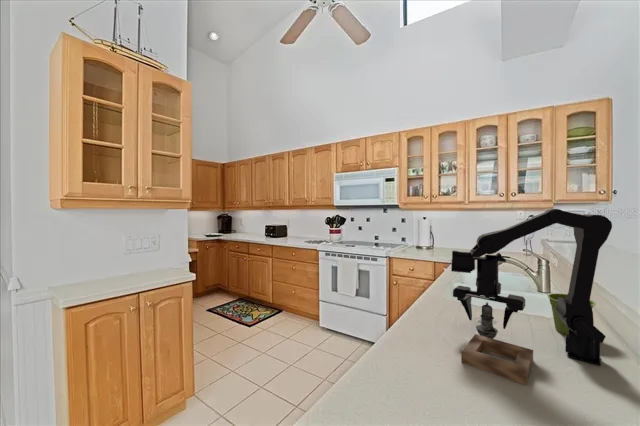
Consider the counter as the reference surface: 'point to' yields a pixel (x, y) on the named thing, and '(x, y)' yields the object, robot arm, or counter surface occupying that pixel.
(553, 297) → the plant pot
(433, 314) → the counter surface
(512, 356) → the well block
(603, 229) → the robot arm
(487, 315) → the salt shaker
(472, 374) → the counter surface
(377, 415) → the counter surface
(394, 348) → the counter surface
